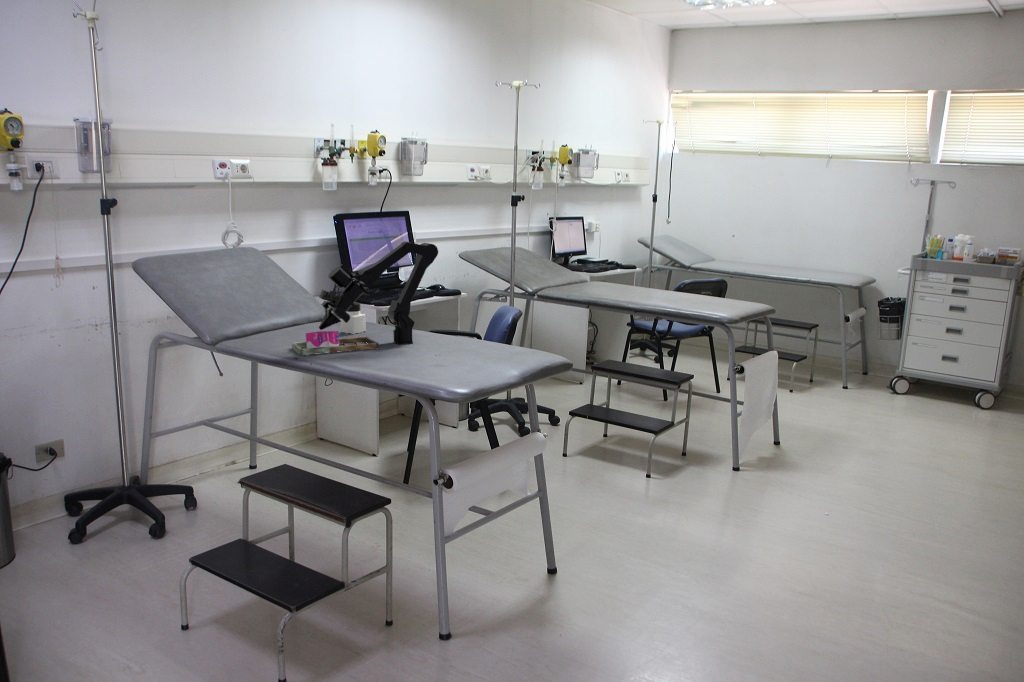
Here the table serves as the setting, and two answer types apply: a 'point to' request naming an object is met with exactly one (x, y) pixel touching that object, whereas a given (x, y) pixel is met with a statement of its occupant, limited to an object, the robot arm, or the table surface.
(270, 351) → the table surface
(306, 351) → the box
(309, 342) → the supplement box
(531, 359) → the table surface
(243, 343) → the table surface
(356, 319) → the medicine bottle
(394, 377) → the table surface
